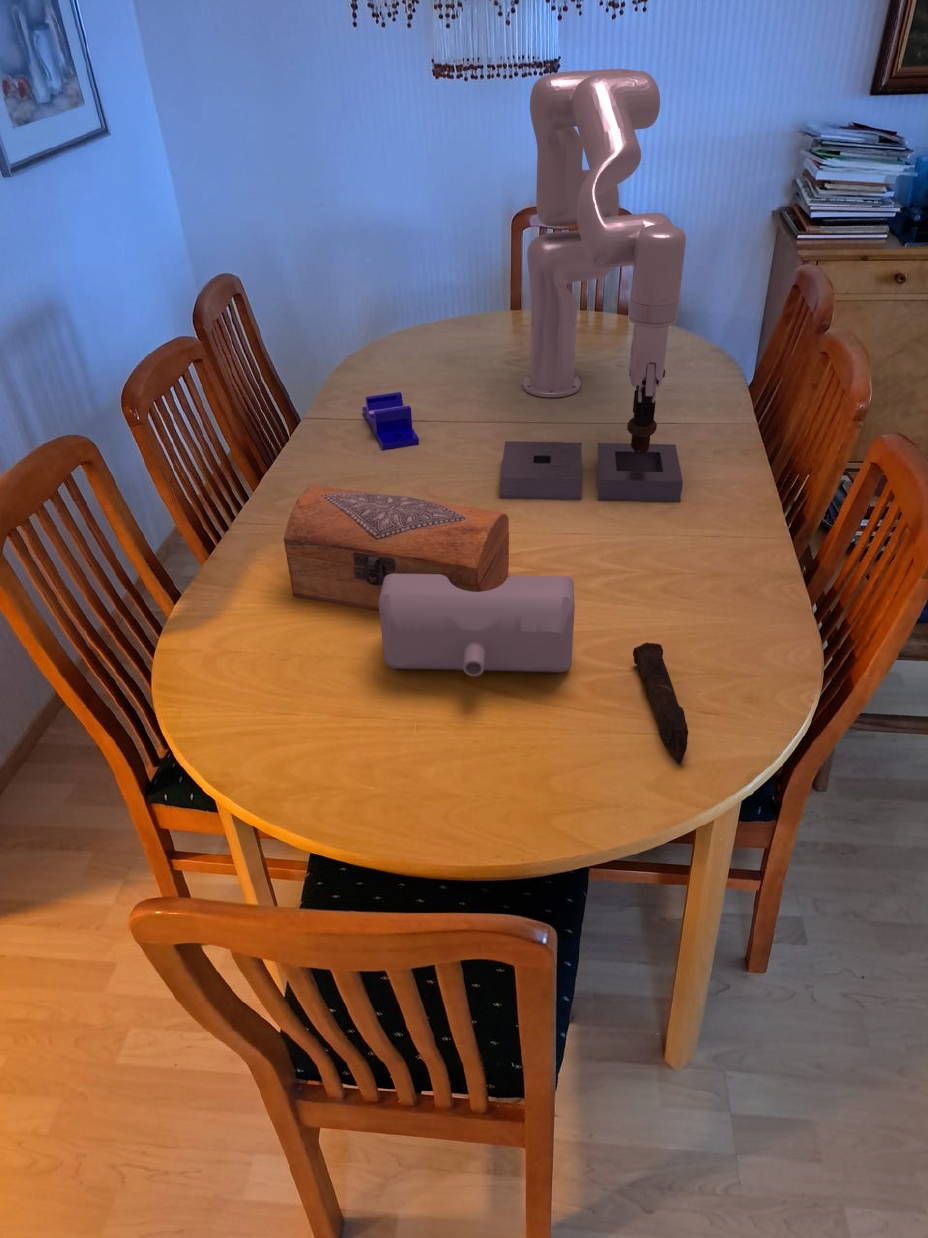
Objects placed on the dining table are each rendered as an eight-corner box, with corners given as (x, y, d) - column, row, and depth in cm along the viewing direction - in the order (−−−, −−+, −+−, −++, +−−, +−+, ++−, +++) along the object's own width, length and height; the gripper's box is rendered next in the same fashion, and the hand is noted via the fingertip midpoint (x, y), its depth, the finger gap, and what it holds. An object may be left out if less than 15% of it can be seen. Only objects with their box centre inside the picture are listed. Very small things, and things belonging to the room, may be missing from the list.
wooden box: (287, 601, 135) (273, 521, 127) (335, 544, 147) (324, 468, 139) (476, 637, 127) (474, 555, 118) (510, 574, 139) (510, 495, 131)
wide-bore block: (596, 462, 167) (597, 442, 165) (672, 464, 166) (675, 444, 163) (598, 500, 156) (599, 479, 154) (680, 502, 155) (682, 481, 152)
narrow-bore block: (505, 460, 169) (505, 441, 166) (580, 462, 167) (581, 442, 165) (500, 497, 158) (500, 477, 155) (580, 499, 156) (581, 479, 154)
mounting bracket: (363, 415, 187) (360, 388, 184) (396, 410, 189) (394, 382, 185) (383, 452, 174) (380, 423, 170) (419, 446, 175) (417, 417, 172)
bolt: (655, 444, 159) (664, 361, 150) (657, 457, 155) (666, 373, 146) (622, 443, 159) (629, 361, 150) (623, 456, 155) (630, 373, 146)
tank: (378, 703, 116) (369, 626, 109) (393, 627, 129) (387, 554, 121) (572, 708, 114) (577, 630, 107) (569, 630, 127) (573, 556, 120)
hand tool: (631, 664, 121) (633, 637, 118) (660, 663, 121) (664, 636, 118) (656, 768, 106) (659, 740, 103) (690, 767, 106) (694, 739, 103)
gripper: (627, 293, 149) (618, 398, 160) (632, 328, 136) (622, 439, 147) (673, 293, 149) (661, 398, 160) (682, 328, 136) (669, 440, 147)
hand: (642, 417), depth 153 cm, fingers closed on bolt, 3 cm apart
